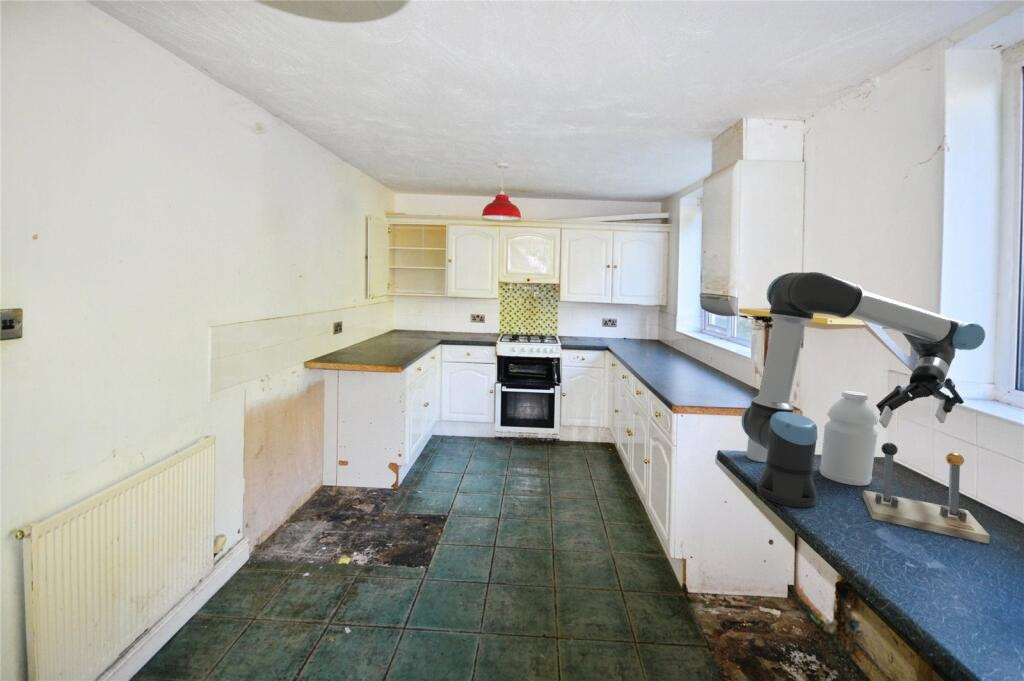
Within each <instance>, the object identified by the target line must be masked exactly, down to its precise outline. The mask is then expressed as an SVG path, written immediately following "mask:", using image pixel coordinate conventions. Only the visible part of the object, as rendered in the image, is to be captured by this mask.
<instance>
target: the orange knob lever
mask: <svg viewBox="0 0 1024 681" xmlns="http://www.w3.org/2000/svg"><path fill="white" fill-rule="evenodd" d="M945 461H946V462H947V464H948V465H949V474H948V475H949V477H948V478H949V481H948V486H949V487H948V510H949V514H950V515H954V516H958V513H959V509H960V508H959V507H960V505H959V504H960V474H961V473H960V472H961V468H960V467H961V466H962V465H964V463H965V458H964V457H963V455H961V453H957V452H949V453H948V454H947V455H946V456H945Z"/></svg>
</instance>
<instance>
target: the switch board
mask: <svg viewBox="0 0 1024 681" xmlns="http://www.w3.org/2000/svg"><path fill="white" fill-rule="evenodd" d="M862 497H863V500H864V502H865V505H866V507H867V509H868V513H869V514H870V517H871V519H873V520H876V521H880V522H885V523H890V524H896V525H901V526H904V527H905V526H906V527H909V528H914V529H919V530H923V531H928V532H933V533H937V534H942V535H947V536H951V537H955V538H959V539H965V540H970V541H973V542H974V541H975V542H978V543H983V544H989V543H990V538H991V535H990V534H989V533H988V532H987V531H986V530H985V529H984V527H983V526H982V525H981V524H980V523H979V521H977V519H976V518H975V517H974V516H973V515H972V514H971V513H970V511H969V510H967V509H963V508H959V513H958V516H954V515H950V514H949V510H948V507H949V505H942V504H937V503H932V502H927V501H923V500H916V499H910V498H905V497H902V496H900V497H899V496H894V495H891V501H890V503H889V502H884V501H883V493H882V492H881V493H879V492H874V491H869V490H864V489H863V494H862Z"/></svg>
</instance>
